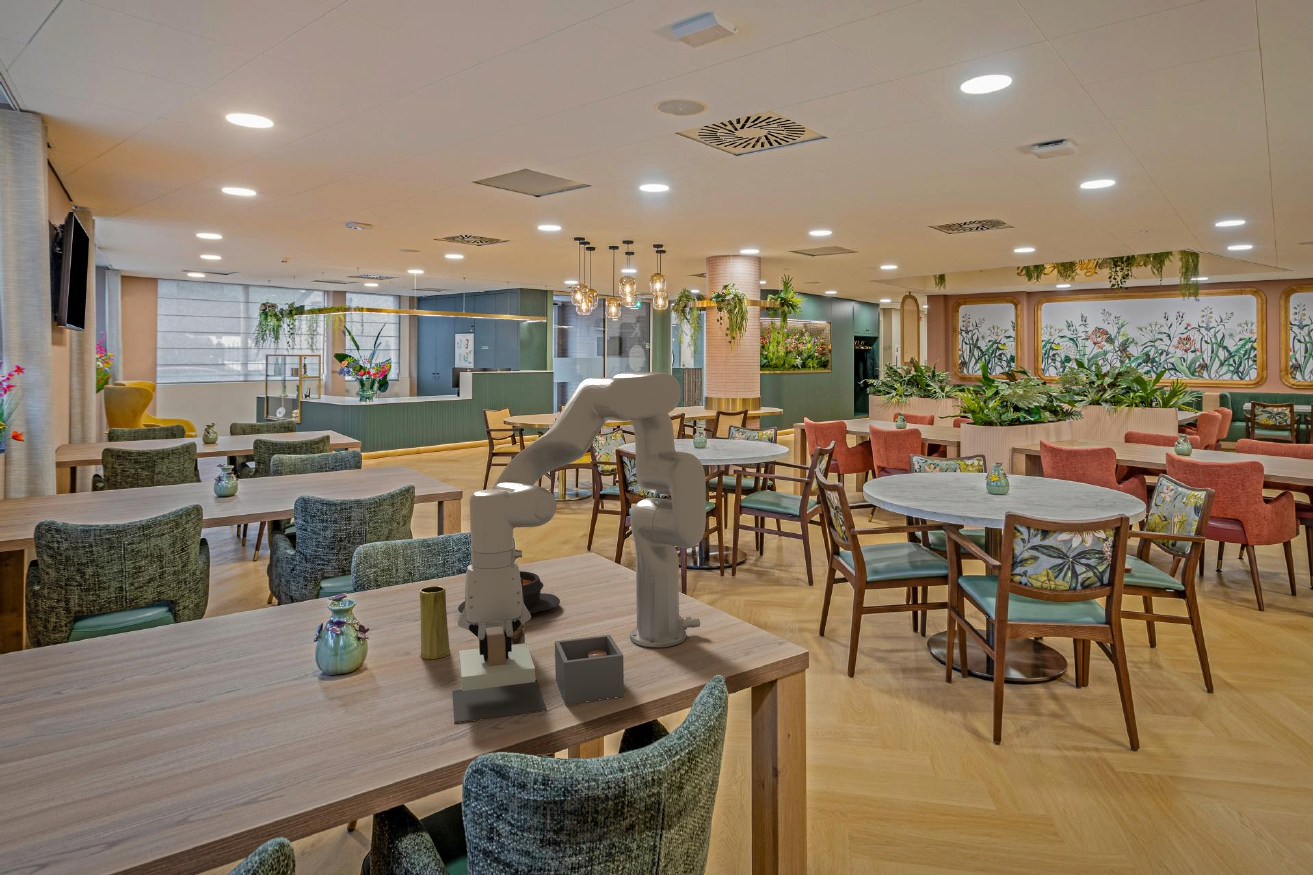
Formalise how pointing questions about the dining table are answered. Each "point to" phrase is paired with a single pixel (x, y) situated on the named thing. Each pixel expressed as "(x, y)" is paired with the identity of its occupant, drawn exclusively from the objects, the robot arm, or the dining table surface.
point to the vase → (434, 623)
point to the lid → (496, 664)
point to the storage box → (589, 669)
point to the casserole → (532, 594)
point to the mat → (497, 701)
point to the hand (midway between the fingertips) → (495, 656)
